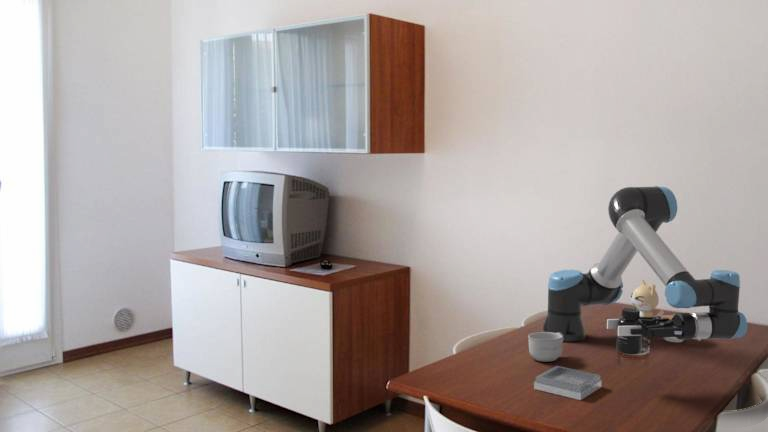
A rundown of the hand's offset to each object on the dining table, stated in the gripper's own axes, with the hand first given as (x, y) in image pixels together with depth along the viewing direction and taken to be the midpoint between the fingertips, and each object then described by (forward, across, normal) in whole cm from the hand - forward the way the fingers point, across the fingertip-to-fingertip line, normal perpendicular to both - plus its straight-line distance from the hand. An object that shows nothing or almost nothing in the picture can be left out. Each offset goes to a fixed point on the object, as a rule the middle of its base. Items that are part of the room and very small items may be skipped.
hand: (612, 327), depth 205 cm
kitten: (-46, +76, -18) cm, 91 cm away
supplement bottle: (-5, 0, -7) cm, 9 cm away
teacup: (+8, +29, -18) cm, 35 cm away
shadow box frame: (+12, +1, -18) cm, 21 cm away
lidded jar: (-43, +47, -18) cm, 66 cm away
